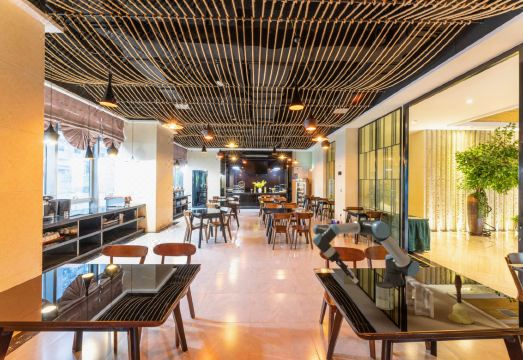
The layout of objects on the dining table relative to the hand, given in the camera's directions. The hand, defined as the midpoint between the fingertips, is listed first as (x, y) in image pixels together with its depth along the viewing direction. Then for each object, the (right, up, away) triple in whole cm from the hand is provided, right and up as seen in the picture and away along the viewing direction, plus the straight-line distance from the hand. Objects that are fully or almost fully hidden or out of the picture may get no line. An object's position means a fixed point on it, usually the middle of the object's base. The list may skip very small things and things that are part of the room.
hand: (355, 279), depth 176 cm
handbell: (+54, -16, -20) cm, 60 cm away
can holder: (+37, -16, -8) cm, 41 cm away
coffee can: (+17, -16, -4) cm, 24 cm away
